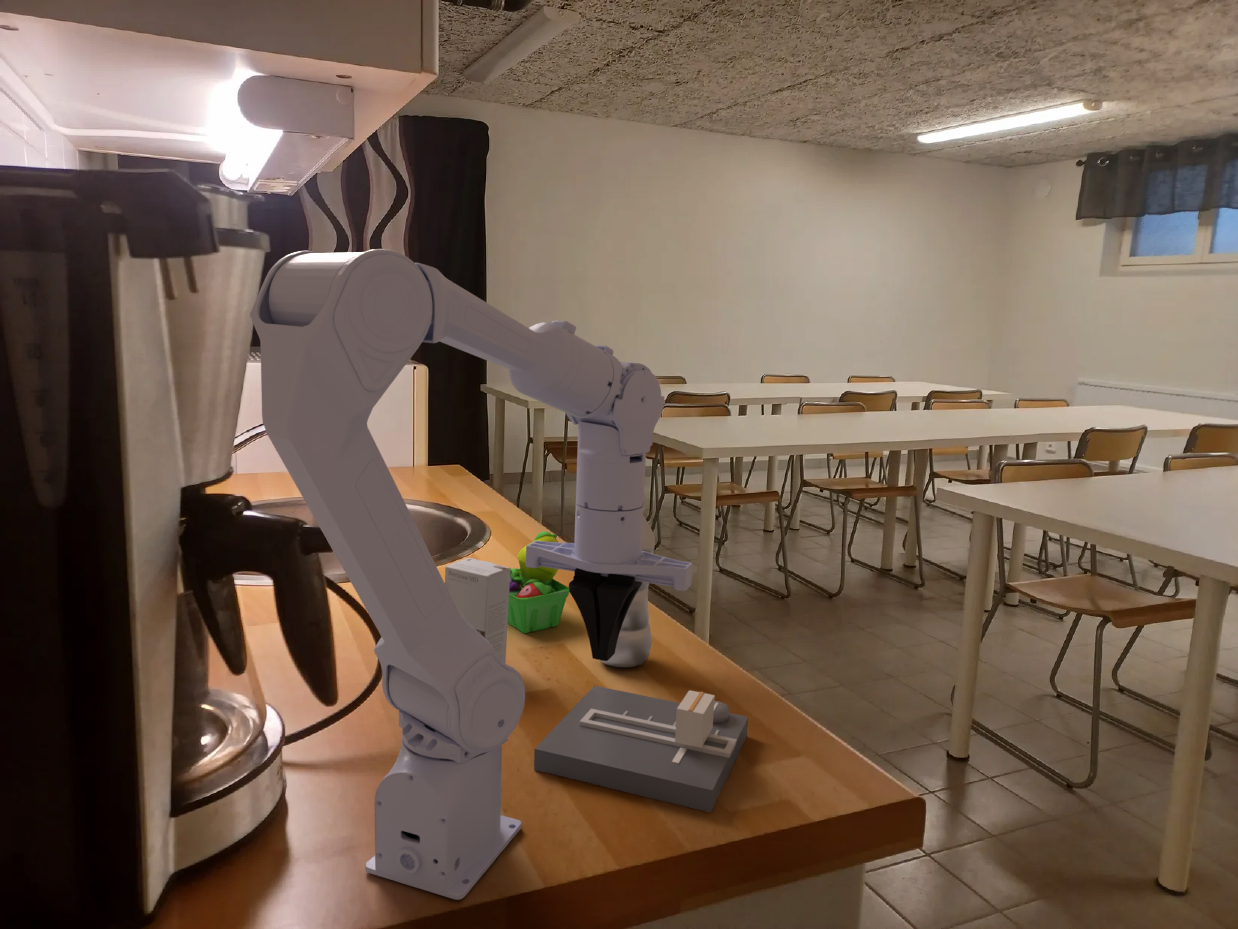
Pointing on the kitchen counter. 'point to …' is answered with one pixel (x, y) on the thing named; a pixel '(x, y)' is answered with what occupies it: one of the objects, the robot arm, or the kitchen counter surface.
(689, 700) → the fader cap
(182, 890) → the kitchen counter surface
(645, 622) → the plastic bottle
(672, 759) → the console
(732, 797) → the kitchen counter surface
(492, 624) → the skincare box
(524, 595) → the fruit basket
